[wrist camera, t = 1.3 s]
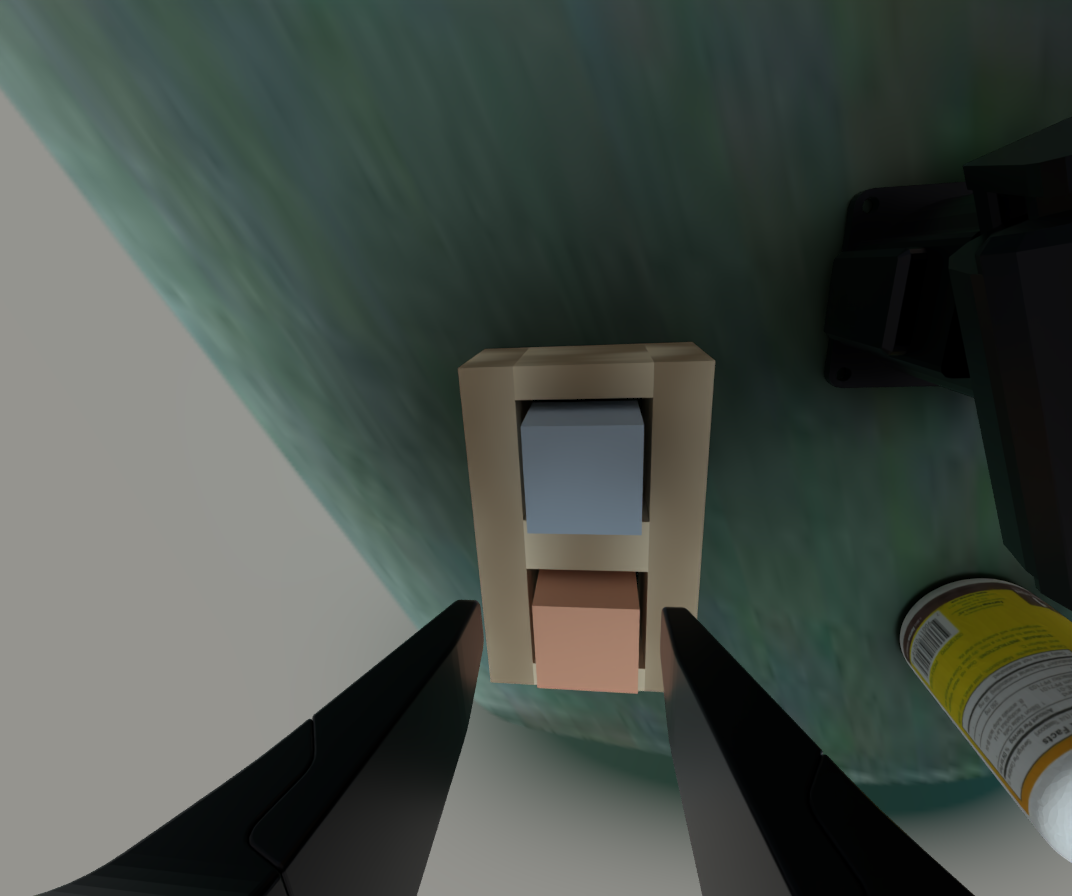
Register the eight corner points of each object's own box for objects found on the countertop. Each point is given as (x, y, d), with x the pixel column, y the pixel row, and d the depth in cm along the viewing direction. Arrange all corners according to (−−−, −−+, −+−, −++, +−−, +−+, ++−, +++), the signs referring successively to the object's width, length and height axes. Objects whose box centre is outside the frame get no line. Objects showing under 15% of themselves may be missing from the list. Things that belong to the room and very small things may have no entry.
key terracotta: (634, 562, 19) (639, 609, 16) (632, 638, 20) (637, 693, 18) (541, 560, 19) (531, 605, 17) (545, 634, 21) (537, 687, 18)
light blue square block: (637, 400, 17) (644, 425, 14) (635, 496, 18) (641, 535, 15) (532, 402, 17) (520, 426, 15) (537, 495, 19) (527, 533, 16)
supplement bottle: (1053, 652, 21) (1421, 966, 12) (914, 691, 23) (1141, 997, 13) (1019, 550, 20) (1403, 811, 10) (874, 598, 21) (1095, 865, 12)
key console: (692, 341, 19) (714, 360, 15) (676, 624, 23) (691, 693, 19) (484, 349, 20) (457, 368, 16) (507, 617, 24) (490, 682, 20)
